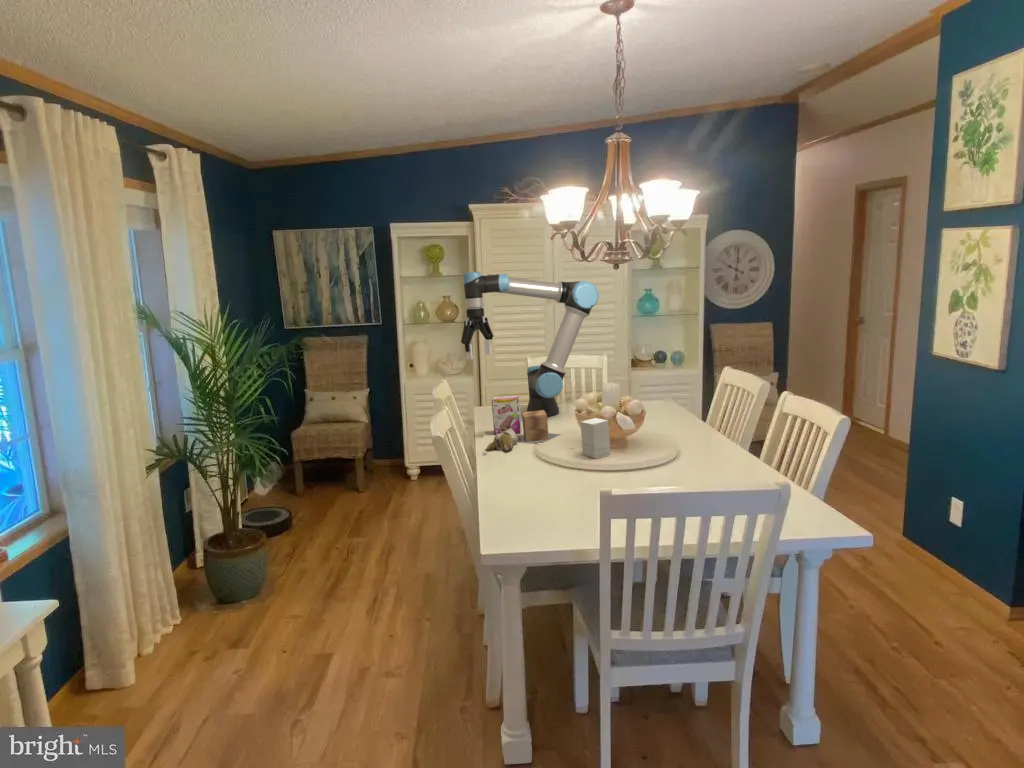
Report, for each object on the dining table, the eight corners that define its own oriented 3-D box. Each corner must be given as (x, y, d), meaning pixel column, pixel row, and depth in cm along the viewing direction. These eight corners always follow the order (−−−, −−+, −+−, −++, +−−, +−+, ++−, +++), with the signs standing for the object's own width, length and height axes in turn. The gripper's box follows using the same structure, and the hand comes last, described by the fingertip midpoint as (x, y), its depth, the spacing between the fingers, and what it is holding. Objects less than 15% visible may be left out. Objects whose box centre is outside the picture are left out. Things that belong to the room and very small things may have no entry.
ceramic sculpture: (523, 424, 269) (506, 436, 256) (525, 445, 271) (509, 458, 258) (498, 423, 274) (481, 435, 261) (501, 444, 276) (484, 457, 263)
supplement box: (611, 454, 248) (609, 420, 246) (594, 459, 245) (592, 424, 243) (598, 451, 255) (596, 417, 253) (582, 455, 251) (579, 421, 249)
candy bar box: (494, 438, 287) (490, 399, 284) (495, 435, 292) (492, 397, 289) (521, 436, 286) (517, 397, 283) (522, 433, 291) (519, 395, 288)
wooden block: (545, 434, 282) (543, 410, 280) (548, 439, 273) (546, 414, 271) (523, 436, 281) (521, 412, 279) (526, 441, 272) (523, 416, 270)
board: (532, 434, 288) (532, 431, 287) (561, 437, 279) (561, 434, 279) (510, 444, 275) (510, 441, 275) (539, 447, 267) (539, 444, 266)
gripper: (484, 305, 312) (489, 352, 315) (449, 311, 292) (454, 361, 295) (498, 305, 307) (502, 352, 311) (463, 310, 287) (468, 361, 291)
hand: (479, 356), depth 303 cm, fingers open, 13 cm apart
